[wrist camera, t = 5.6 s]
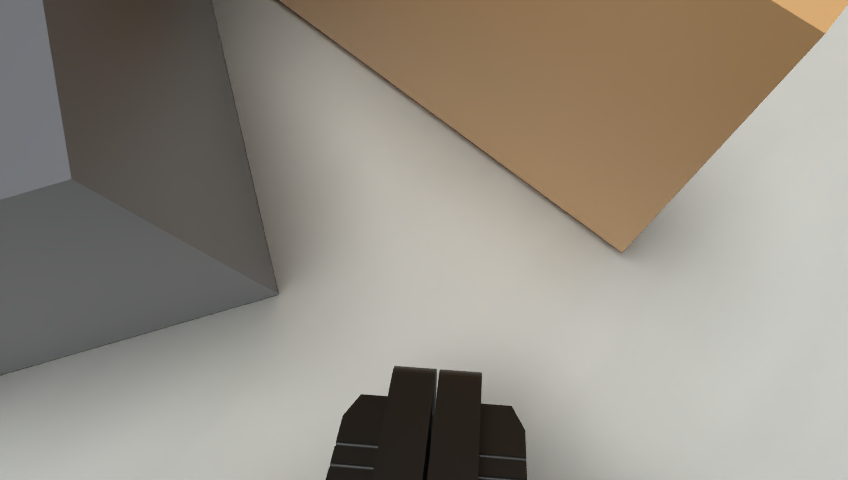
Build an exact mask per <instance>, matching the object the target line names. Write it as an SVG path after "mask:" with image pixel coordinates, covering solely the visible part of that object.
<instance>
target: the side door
mask: <svg viewBox="0 0 848 480" xmlns="http://www.w3.org/2000/svg"><path fill="white" fill-rule="evenodd" d="M279 1H281V2H282V3H283V4H285V5H286V6H287V7H289V8H290V9H291V10H293V11H294V12H295V13H297V14H298V15H300V16H301V17H302V18H304V19H305V20H306V21H308V22H309V23H310V24H312V25H313V26H315V27H316V28H317V29H319V30H320V31H321V32H323V33H324V34H325V35H327V36H328V37H329V38H331V39H332V40H334V41H335V42H336V43H338V44H339V45H340V46H342V47H343V48H344V49H346V50H347V51H349V52H350V53H351V54H353V55H354V56H355V57H357V58H358V59H359V60H361V61H362V62H363V63H365V64H366V65H368V66H369V67H370V68H372V69H373V70H374V71H376V72H377V73H378V74H380V75H381V76H383V77H384V78H385V79H387V80H388V81H389V82H391V83H392V84H393V85H395V86H396V87H397V88H399V89H400V90H402V91H403V92H404V93H406V94H407V95H408V96H410V97H411V98H412V99H414V100H415V101H416V102H418V103H419V104H421V105H422V106H423V107H425V108H426V109H427V110H429V111H430V112H431V113H433V114H434V115H436V116H437V117H438V118H440V119H441V120H442V121H444V122H445V123H446V124H448V125H449V126H450V127H452V128H453V129H455V130H456V131H457V132H459V133H460V134H461V135H463V136H464V137H465V138H467V139H468V140H470V141H471V142H472V143H474V144H475V145H476V146H478V147H479V148H480V149H482V150H483V151H484V152H486V153H487V154H489V155H490V156H491V157H493V158H494V159H495V160H497V161H498V162H499V163H501V164H502V165H504V166H505V167H506V168H508V169H509V170H510V171H512V172H513V173H514V174H516V175H517V176H518V177H520V178H521V179H523V180H524V181H525V182H527V183H528V184H529V185H531V186H532V187H533V188H535V189H536V190H537V191H539V192H540V193H542V194H543V195H544V196H546V197H547V198H548V199H550V200H551V201H552V202H554V203H555V204H557V205H558V206H559V207H561V208H562V209H563V210H565V211H566V212H567V213H569V214H570V215H571V216H573V217H574V218H576V219H577V220H578V221H580V222H581V223H582V224H584V225H585V226H586V227H588V228H589V229H591V230H592V231H593V232H595V233H596V234H597V235H599V236H600V237H601V238H603V239H604V240H605V241H607V242H608V243H610V244H611V245H612V246H614V247H615V248H616V249H618V250H619V251H620V252H623V251H624V250H625V249H626V248H627V247H628V246H629V245H630V244H631V243H632V242H633V241H634V239H635V238H636V237H637V236H638V235H639V234H640V233H641V232H642V231H643V230H644V229H645V228H646V226H647V225H648V224H649V223H650V222H651V221H652V220H653V219H654V218H655V217H656V216H657V215H658V214H659V212H660V211H661V210H662V209H663V208H664V207H665V206H666V205H667V204H668V203H669V202H670V201H671V200H672V198H673V197H674V196H675V195H676V194H677V193H678V192H679V191H680V190H681V189H682V188H683V187H684V185H685V184H686V183H687V182H688V181H689V180H690V179H691V178H692V177H693V176H694V175H695V174H696V173H697V171H698V170H699V169H700V168H701V167H702V166H703V165H704V164H705V163H706V162H707V161H708V160H709V158H710V157H711V156H712V155H713V154H714V153H715V152H716V151H717V150H718V149H719V148H720V147H721V146H722V144H723V143H724V142H725V141H726V140H727V139H728V138H729V137H730V136H731V135H732V134H733V133H734V131H735V130H736V129H737V128H738V127H739V126H740V125H741V124H742V123H743V122H744V121H745V120H746V119H747V117H748V116H749V115H750V114H751V113H752V112H753V111H754V110H755V109H756V108H757V107H758V106H759V104H760V103H761V102H762V101H763V100H764V99H765V98H766V97H767V96H768V95H769V94H770V93H771V92H772V90H773V89H774V88H775V87H776V86H777V85H778V84H779V83H780V82H781V81H782V80H783V79H784V77H785V76H786V75H787V74H788V73H789V72H790V71H791V70H792V69H793V68H794V67H795V66H796V65H797V63H798V62H799V61H800V60H801V59H802V58H803V57H804V56H805V55H806V54H807V53H808V52H809V51H810V49H811V48H812V47H813V46H814V45H815V44H816V43H817V42H818V41H819V40H820V39H821V38H822V36H823V35H824V34H825V33H826V32H827V31H828V29H829V28H830V27H831V25H832V24H833V23H834V22H835V20H836V19H837V18H838V16H839V15H840V14H841V12H842V11H843V10H844V9H845V7H846V6H847V5H848V0H279Z"/></svg>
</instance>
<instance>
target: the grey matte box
mask: <svg viewBox="0 0 848 480" xmlns="http://www.w3.org/2000/svg"><path fill="white" fill-rule="evenodd" d="M275 295H278V290H277V286H276V281H275V277H274V273H273V268H272V264H271V260H270V255H269V251H268V247H267V242H266V238H265V233H264V229H263V225H262V220H261V216H260V212H259V207H258V203H257V199H256V194H255V190H254V186H253V181H252V177H251V172H250V168H249V164H248V159H247V155H246V151H245V146H244V142H243V138H242V133H241V129H240V124H239V120H238V116H237V111H236V107H235V103H234V98H233V94H232V90H231V85H230V81H229V76H228V72H227V68H226V63H225V59H224V55H223V50H222V46H221V42H220V37H219V33H218V29H217V24H216V20H215V15H214V11H213V7H212V2H211V0H0V375H2V374H6V373H9V372H13V371H16V370H20V369H23V368H27V367H30V366H34V365H37V364H40V363H44V362H47V361H51V360H54V359H58V358H61V357H65V356H68V355H72V354H75V353H78V352H82V351H85V350H89V349H92V348H96V347H99V346H103V345H106V344H110V343H113V342H116V341H120V340H123V339H127V338H130V337H134V336H137V335H141V334H144V333H148V332H151V331H154V330H158V329H161V328H165V327H168V326H172V325H175V324H179V323H182V322H186V321H189V320H192V319H196V318H199V317H203V316H206V315H210V314H213V313H217V312H220V311H224V310H227V309H230V308H234V307H237V306H241V305H244V304H248V303H251V302H255V301H258V300H262V299H265V298H268V297H272V296H275Z"/></svg>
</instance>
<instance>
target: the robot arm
mask: <svg viewBox="0 0 848 480" xmlns="http://www.w3.org/2000/svg"><path fill="white" fill-rule="evenodd" d="M436 384H437V369H429V368H415V367H402V366H395V367H394V369H393V373H392V378H391V383H390V388H389V393H388V396H376V395H363V394H361V395H360V396H359V397H358V399H357V400H356V401H355V402H354V403H353V405H352V406H351V407H350V408H349V409H348V410H347V412H346V413H345V414H344V415H343V418H342V421H341V425H340V429H339V432H338V436H337V440H336V446H335V447H334V451H333V455H332V458H331V464H330V468H329V470H328V473H327V477H326V480H527V469H526V442H525V429H524V428H523V426H522V424H521V422H520V420H519V419H518V417H517V415H516V413H515V411H514V410H513V408H512V406H503V405H490V404H481V384H482V373H480V372H467V371H453V370H440V372H439V380H438V388H437V397H436Z"/></svg>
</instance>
